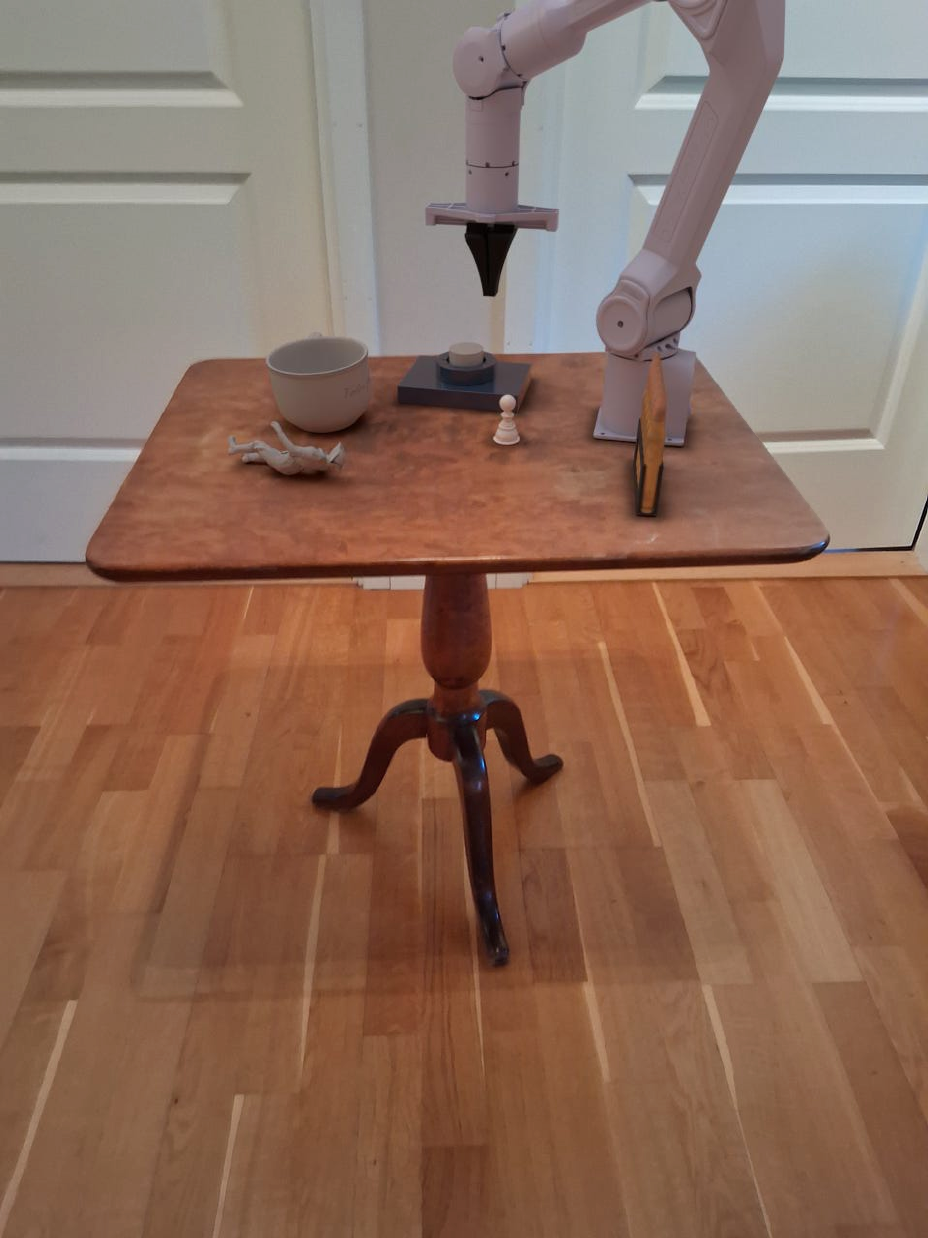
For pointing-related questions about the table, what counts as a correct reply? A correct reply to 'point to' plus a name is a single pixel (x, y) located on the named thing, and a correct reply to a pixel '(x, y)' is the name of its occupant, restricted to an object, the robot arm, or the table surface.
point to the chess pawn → (507, 423)
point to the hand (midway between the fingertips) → (490, 293)
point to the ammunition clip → (650, 442)
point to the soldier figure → (289, 455)
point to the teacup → (320, 381)
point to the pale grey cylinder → (466, 354)
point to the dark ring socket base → (464, 383)
